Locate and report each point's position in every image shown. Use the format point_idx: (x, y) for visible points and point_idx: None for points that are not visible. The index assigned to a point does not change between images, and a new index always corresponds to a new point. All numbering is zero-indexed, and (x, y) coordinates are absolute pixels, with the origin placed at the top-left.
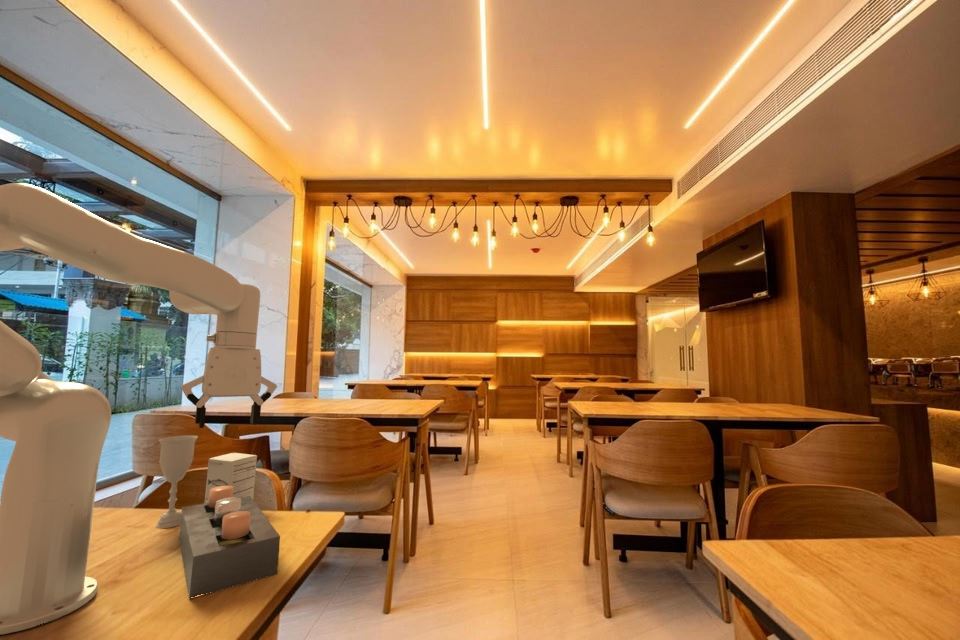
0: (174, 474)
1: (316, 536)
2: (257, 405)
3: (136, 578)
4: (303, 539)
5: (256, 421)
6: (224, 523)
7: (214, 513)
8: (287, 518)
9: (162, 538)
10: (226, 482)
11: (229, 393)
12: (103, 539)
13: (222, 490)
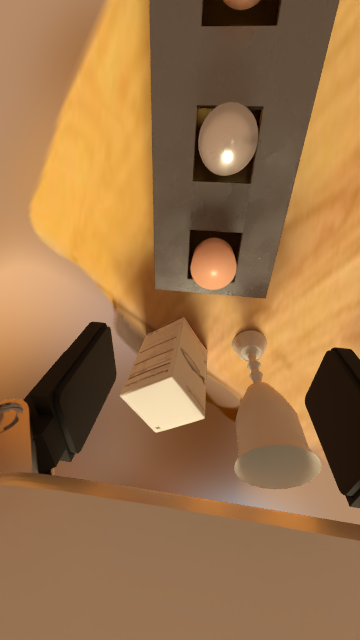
0: (268, 388)
1: (71, 125)
2: (35, 402)
3: (350, 148)
4: (94, 127)
5: (88, 327)
6: None
7: (232, 219)
8: (107, 256)
9: (272, 295)
10: (182, 353)
11: (283, 561)
12: (326, 340)
13: (215, 252)
